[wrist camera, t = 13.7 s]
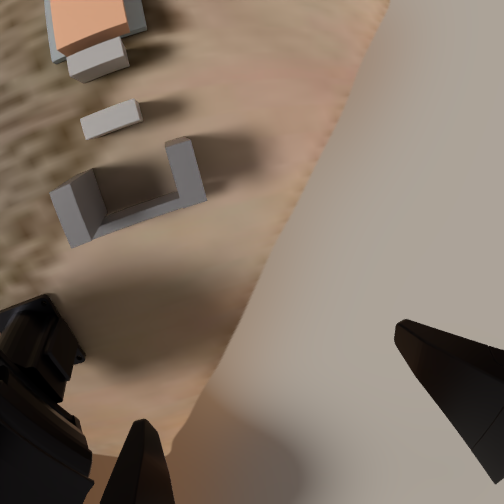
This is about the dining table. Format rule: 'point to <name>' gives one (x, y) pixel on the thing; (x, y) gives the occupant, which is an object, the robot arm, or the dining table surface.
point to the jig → (84, 184)
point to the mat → (135, 26)
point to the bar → (86, 23)
